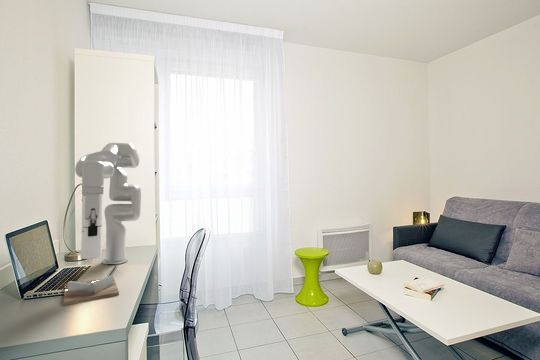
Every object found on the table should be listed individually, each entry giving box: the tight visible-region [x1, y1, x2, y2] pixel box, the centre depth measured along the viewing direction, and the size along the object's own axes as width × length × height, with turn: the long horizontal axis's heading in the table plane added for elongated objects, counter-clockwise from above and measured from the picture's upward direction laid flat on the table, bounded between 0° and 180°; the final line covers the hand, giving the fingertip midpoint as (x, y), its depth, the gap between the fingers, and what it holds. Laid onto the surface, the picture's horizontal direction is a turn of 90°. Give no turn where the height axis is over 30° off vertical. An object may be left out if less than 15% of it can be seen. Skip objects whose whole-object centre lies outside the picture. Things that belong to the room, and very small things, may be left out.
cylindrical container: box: [80, 194, 104, 260], centre depth 118 cm, size 7×7×25 cm
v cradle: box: [63, 274, 120, 306], centre depth 118 cm, size 20×18×5 cm
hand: (92, 233), depth 118 cm, fingers closed on cylindrical container, 7 cm apart
